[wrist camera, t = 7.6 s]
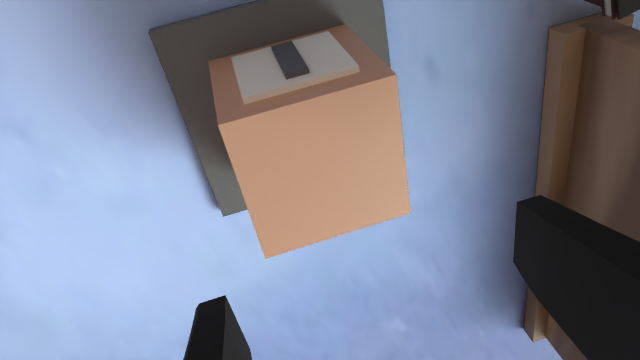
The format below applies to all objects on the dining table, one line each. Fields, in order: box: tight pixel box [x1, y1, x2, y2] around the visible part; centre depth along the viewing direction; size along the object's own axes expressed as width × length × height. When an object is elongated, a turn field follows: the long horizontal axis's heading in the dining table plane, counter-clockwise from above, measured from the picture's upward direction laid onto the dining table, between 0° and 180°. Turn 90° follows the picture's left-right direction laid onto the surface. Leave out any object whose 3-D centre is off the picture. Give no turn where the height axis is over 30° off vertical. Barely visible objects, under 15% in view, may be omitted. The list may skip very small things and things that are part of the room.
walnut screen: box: [524, 13, 640, 360], centre depth 23 cm, size 3×20×6 cm, turn 11°
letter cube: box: [208, 24, 411, 259], centre depth 16 cm, size 5×5×5 cm
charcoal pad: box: [149, 0, 391, 217], centre depth 19 cm, size 8×8×1 cm
